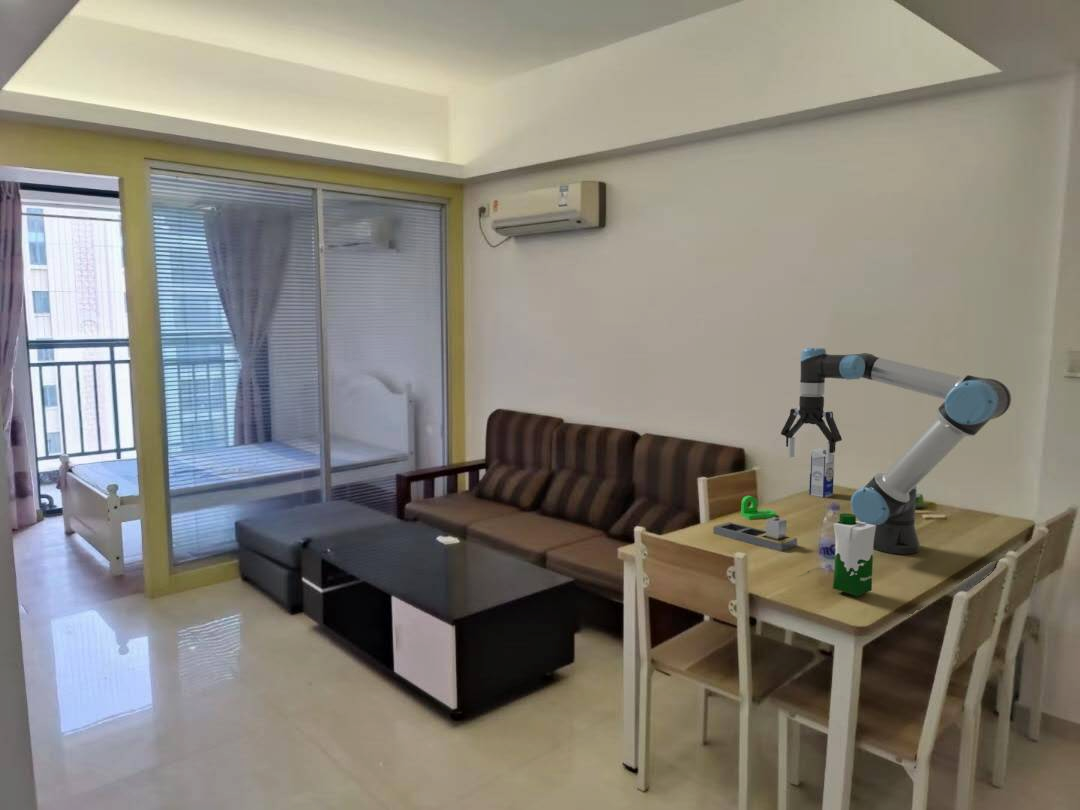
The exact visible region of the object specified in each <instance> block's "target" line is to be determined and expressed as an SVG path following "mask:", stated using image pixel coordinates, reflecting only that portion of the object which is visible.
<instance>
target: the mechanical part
mask: <svg viewBox="0 0 1080 810" xmlns="http://www.w3.org/2000/svg"><path fill="white" fill-rule="evenodd" d="M740 502H741V505H740V516H742V517H744V518H745V519H747V520H757V519H758V520H760V519H759V518H762V519H769V518H770V517H775V516H776V514H777V513H776V512H775V511H774V510H772V509H766V510H765V509H764V510H758V500H757V498H755V497H754V496H752V495H746V496H743V498H742V500H741V501H740ZM749 502H750V503H751V504H750V506H749V505H748V503H749Z"/></svg>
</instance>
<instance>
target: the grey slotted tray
mask: <svg viewBox="0 0 1080 810" xmlns="http://www.w3.org/2000/svg"><path fill="white" fill-rule="evenodd" d="M712 529H713V530H712V531H713V532H712V533H713V534H714V535H718V536H721V537H725V538H727V539H730V540H731V539H732V540H735V541H739V542H743V543H748V544H751V545H755V546H759V547H763V548H766V549H770V550H774V551H778V552H783V551H786V550H789V549H792V548H795V547H797V546H798V537H796V536H791V535H787V534H786V539H784V540H781V541H776V540H772V539H768V538H766V530H765V529H759V528H756V527H750V526H747V525H743V524H739V523H735V522H731V521H730V522H725V523H721V524H718V525H715V526H713V528H712Z"/></svg>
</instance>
